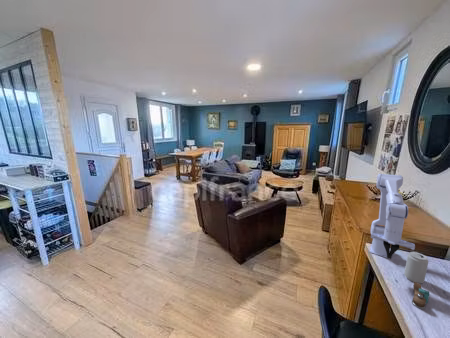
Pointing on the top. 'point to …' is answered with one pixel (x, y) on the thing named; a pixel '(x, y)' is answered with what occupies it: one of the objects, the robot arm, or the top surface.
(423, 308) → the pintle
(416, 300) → the latch bar
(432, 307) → the top surface
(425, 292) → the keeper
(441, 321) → the top surface
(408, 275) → the beverage can
